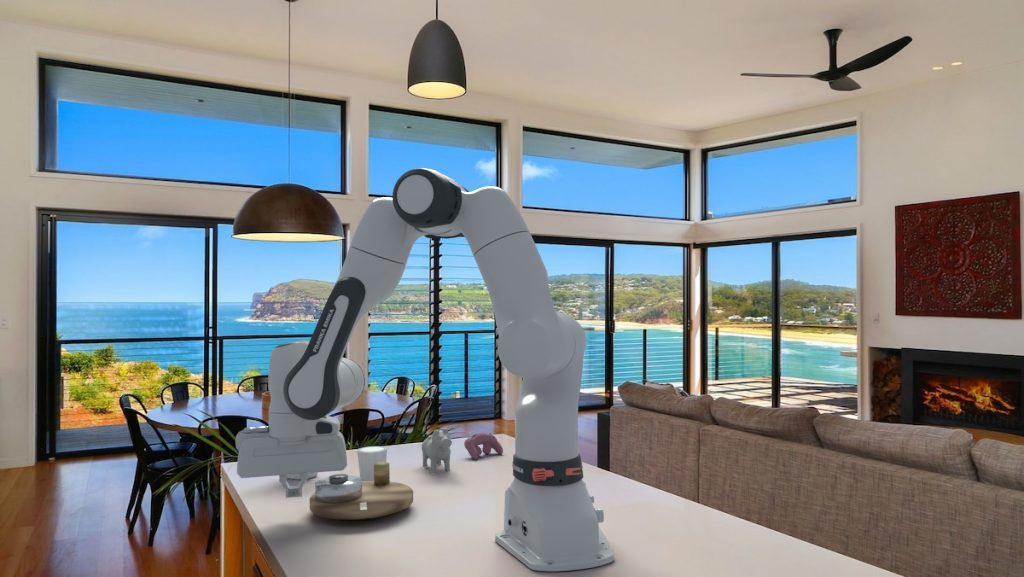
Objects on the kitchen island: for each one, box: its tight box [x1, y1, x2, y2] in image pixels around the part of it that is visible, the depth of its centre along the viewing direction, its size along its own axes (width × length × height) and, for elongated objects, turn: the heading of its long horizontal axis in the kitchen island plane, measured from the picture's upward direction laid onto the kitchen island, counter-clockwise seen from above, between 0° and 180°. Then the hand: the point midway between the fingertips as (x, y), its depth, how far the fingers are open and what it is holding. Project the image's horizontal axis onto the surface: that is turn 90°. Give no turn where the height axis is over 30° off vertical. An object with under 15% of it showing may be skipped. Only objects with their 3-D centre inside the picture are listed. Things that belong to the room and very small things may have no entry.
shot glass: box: [356, 445, 388, 481], centre depth 156 cm, size 7×7×7 cm
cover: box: [314, 473, 362, 504], centre depth 131 cm, size 9×9×4 cm
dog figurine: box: [421, 427, 453, 474], centre depth 163 cm, size 5×13×11 cm, turn 27°
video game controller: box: [464, 432, 504, 461], centre depth 178 cm, size 10×5×7 cm, turn 130°
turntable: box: [309, 461, 414, 520], centre depth 132 cm, size 20×20×6 cm
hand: (293, 496), depth 129 cm, fingers closed
